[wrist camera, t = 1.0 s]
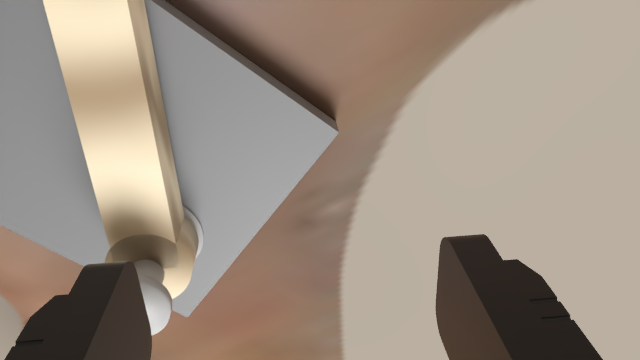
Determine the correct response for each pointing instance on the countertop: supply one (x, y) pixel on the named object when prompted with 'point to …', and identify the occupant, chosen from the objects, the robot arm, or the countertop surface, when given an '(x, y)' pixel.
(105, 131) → the link
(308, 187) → the countertop surface
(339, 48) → the countertop surface
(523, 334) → the robot arm
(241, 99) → the hinge plate
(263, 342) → the countertop surface
